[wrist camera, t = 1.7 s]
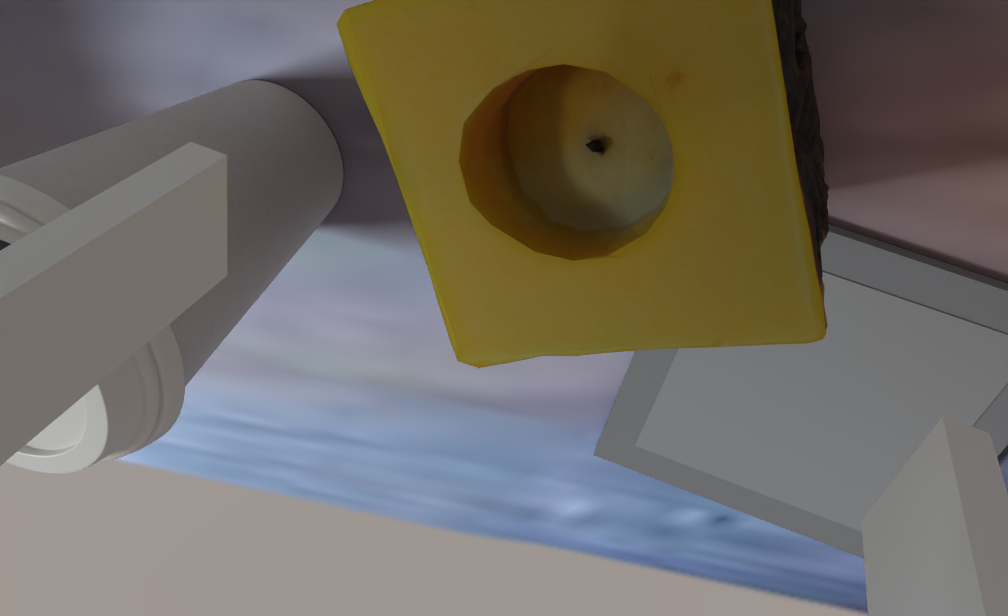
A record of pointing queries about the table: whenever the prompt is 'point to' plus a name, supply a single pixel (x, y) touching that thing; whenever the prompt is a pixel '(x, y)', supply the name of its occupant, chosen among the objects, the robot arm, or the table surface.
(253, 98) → the coffee cup
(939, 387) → the coaster
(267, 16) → the table surface
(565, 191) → the candle
